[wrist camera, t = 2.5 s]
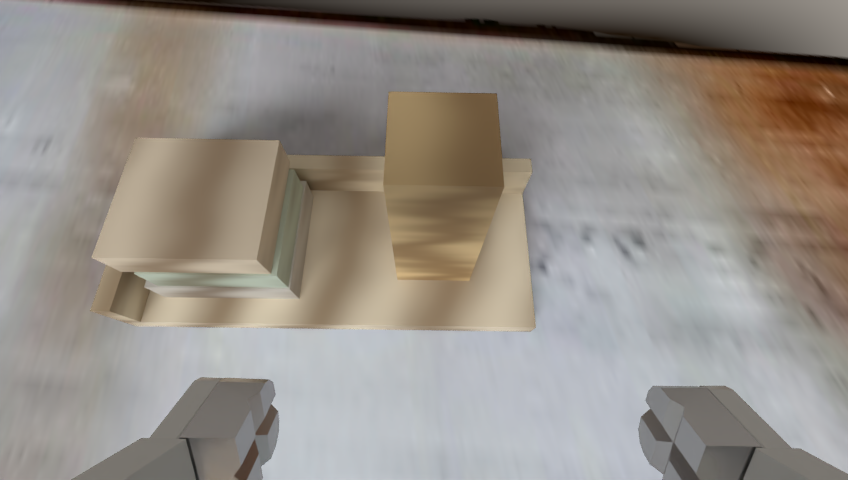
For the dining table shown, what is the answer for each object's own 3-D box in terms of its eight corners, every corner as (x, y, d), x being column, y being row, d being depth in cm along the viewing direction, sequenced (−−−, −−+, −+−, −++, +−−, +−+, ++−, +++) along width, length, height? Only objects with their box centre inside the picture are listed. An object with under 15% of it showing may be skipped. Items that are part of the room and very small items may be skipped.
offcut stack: (164, 297, 24) (90, 261, 19) (193, 194, 27) (135, 137, 21) (299, 299, 24) (264, 264, 19) (313, 196, 27) (286, 140, 21)
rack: (136, 326, 25) (90, 310, 21) (178, 184, 29) (145, 152, 25) (530, 331, 25) (548, 317, 21) (517, 190, 29) (530, 158, 25)
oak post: (397, 279, 25) (383, 184, 15) (399, 215, 26) (388, 91, 16) (469, 280, 25) (504, 186, 15) (466, 216, 26) (496, 93, 16)
